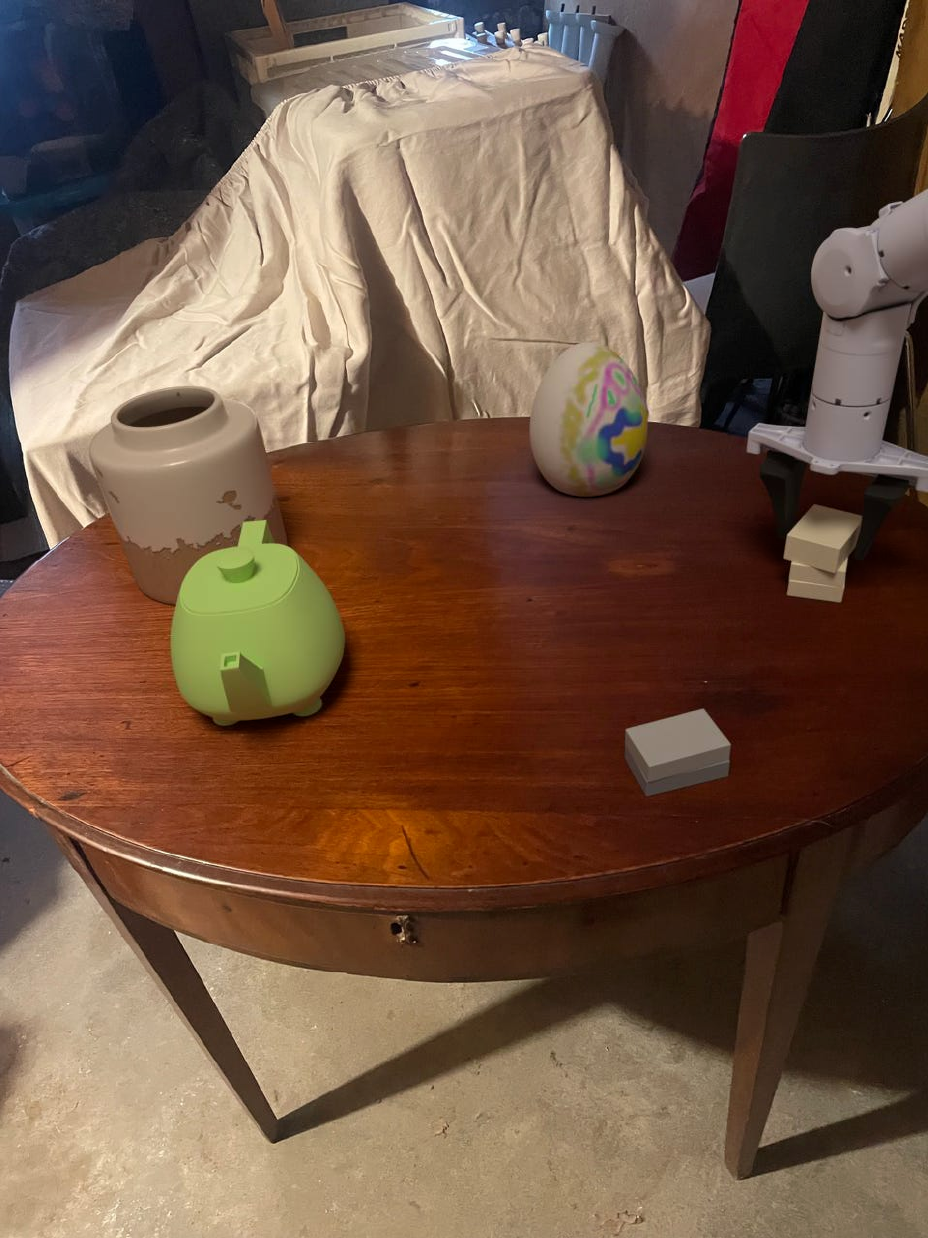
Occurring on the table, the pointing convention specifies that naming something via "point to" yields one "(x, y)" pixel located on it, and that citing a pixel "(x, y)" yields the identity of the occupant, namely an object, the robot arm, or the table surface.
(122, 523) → the vase
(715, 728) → the grey box
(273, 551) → the teapot
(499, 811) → the table surface
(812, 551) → the cream rectangular block
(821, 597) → the cream seamed block
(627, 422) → the decorative egg
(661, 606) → the table surface
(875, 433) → the robot arm
